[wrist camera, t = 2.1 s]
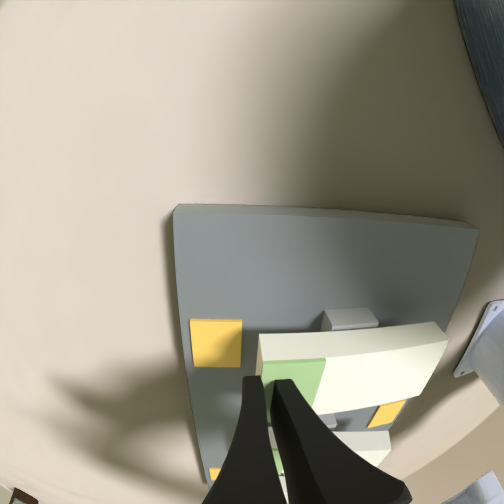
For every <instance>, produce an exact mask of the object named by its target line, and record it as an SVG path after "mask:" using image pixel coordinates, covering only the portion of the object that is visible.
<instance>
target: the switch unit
mask: <svg viewBox="0 0 504 504" xmlns="http://www.w3.org/2000/svg"><path fill="white" fill-rule="evenodd" d="M479 232H480V230H479V229H477V228H475V227H473V226H472V225H470V224H468V223H466V222H463V221H455V220H447V219H439V218H430V217H421V216H411V215H401V214H390V213H379V212H367V211H354V210H340V209H325V208H308V207H288V206H263V205H229V204H179V205H178V206H177V207H176V209H175V210H174V212H173V235H174V254H175V270H176V283H177V295H178V306H179V317H180V326H181V335H182V344H183V352H184V359H185V367H186V374H187V381H188V387H189V394H190V400H191V406H192V412H193V417H194V423H195V428H196V434H197V439H198V444H199V449H200V453H201V458H202V463H203V467H204V472H205V476H206V480H207V485H208V489H209V491H210V489H211V487H212V485H213V484H214V482H215V480H216V478H217V476H218V474H219V472H220V470H221V468H222V465H223V463H224V461H225V458H226V456H227V453H228V451H229V448H230V446H231V443H232V440H233V437H234V433H235V430H236V427H237V423H238V419H239V415H240V410H241V401H242V379H243V377H245V376H255V374H256V363H257V351H258V339H259V334H281V333H311V332H330V331H346V330H359V329H371V328H382V327H392V326H401V325H409V324H417V323H425V322H432V321H434V322H435V323H436V324H437V325H438V326H439V327H440V329H441V330H442V331H443V332H445V330H446V328H447V326H448V323H449V321H450V319H451V316H452V314H453V311H454V309H455V307H456V304H457V301H458V299H459V296H460V293H461V291H462V288H463V285H464V282H465V279H466V276H467V273H468V270H469V267H470V264H471V261H472V258H473V254H474V251H475V247H476V244H477V240H478V236H479ZM408 400H409V398H407V399H403V400H399V401H395V402H390V403H386V404H381V405H377V406H372V407H366V408H361V409H355V410H349V411H343V412H336V413H329V414H321V415H318V416H319V418H320V419H321V420H322V421H323V422H324V423H325V425H326V426H327V427H328V428H329V429H330V430H331V431H332V432H368V431H388V430H389V429H390V427H391V426H392V424H393V423H394V422H395V420H396V419H397V417H398V416H399V414H400V413H401V411H402V409H403V408H404V406H405V405H406V403H407V402H408ZM268 427H272V425H271V422H268ZM279 476H283V477H285V475H284V473H281V475H279Z"/></svg>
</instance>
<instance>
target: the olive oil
mask: <svg viewBox="0 0 504 504" xmlns="http://www.w3.org/2000/svg"><path fill="white" fill-rule="evenodd" d="M9 504H38V500H36V499H35V498H33V497H31V496H30V495H28V494H26V493H25V492H23V491H21V490H19V489H17V488H15V489H14V492H13V495H12V497H11V500H10V503H9Z"/></svg>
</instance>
